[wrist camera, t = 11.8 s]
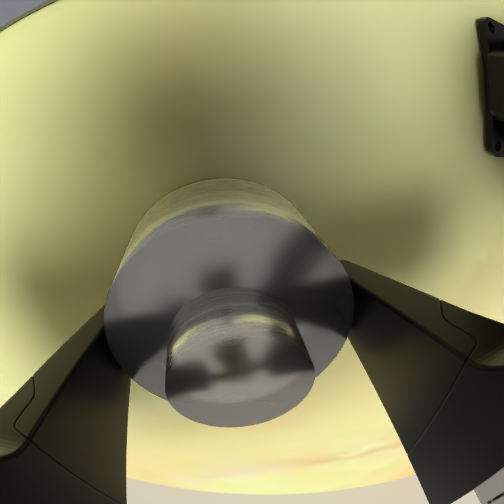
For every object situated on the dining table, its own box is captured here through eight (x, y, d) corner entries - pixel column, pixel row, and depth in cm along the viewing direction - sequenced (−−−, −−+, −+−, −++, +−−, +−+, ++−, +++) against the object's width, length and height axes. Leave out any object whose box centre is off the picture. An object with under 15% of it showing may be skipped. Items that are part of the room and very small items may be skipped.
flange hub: (310, 163, 8) (402, 225, 4) (315, 323, 11) (361, 420, 7) (102, 202, 8) (32, 295, 4) (159, 353, 11) (154, 460, 7)
